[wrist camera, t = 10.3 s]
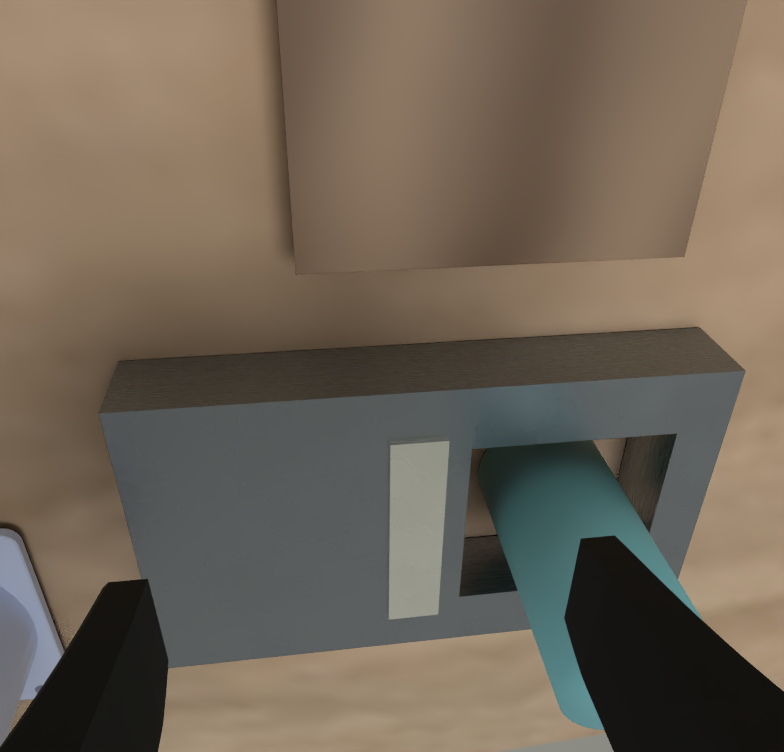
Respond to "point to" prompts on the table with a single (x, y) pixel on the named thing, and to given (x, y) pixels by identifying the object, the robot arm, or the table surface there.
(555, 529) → the peg
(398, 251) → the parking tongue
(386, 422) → the plate
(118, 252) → the table surface
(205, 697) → the table surface
